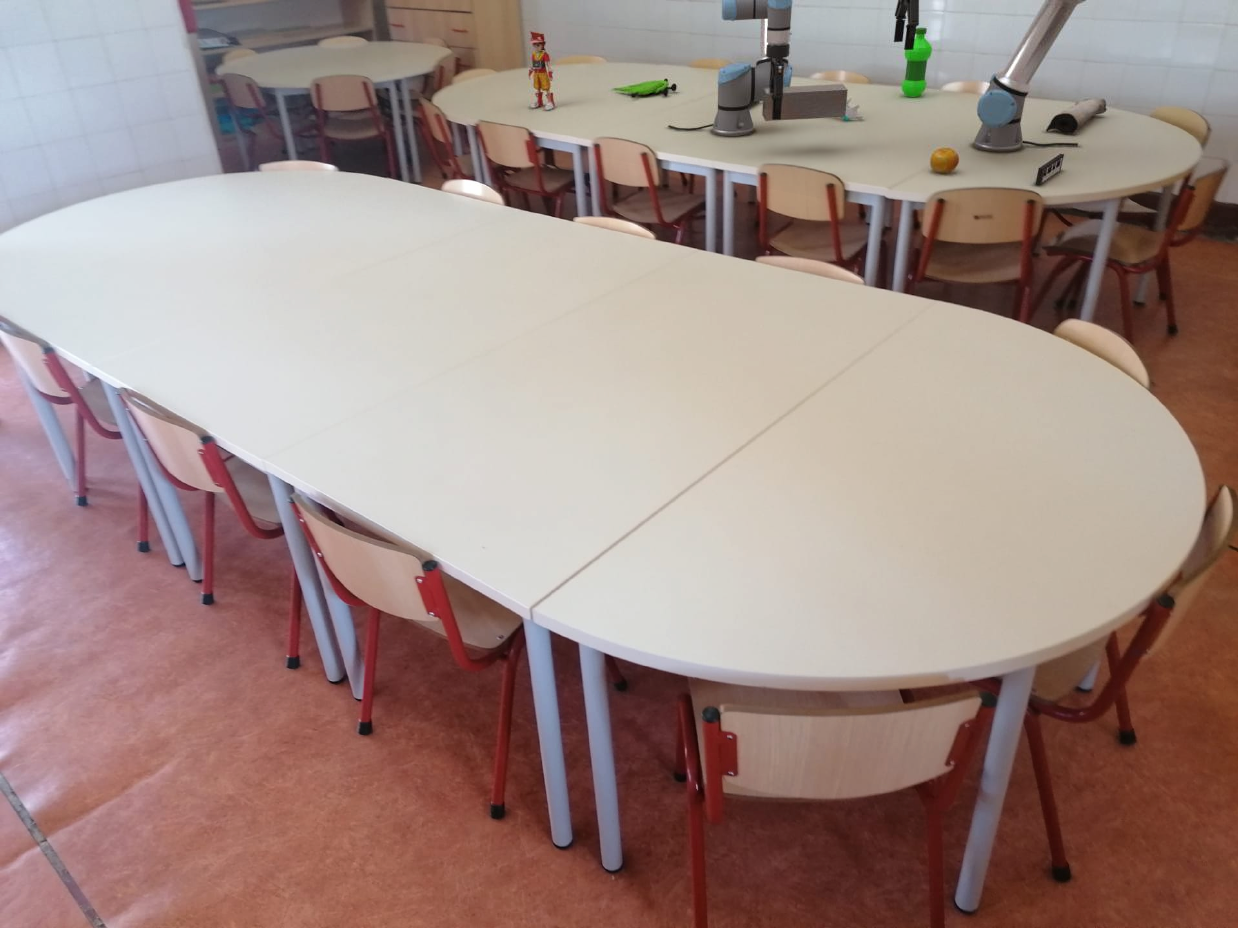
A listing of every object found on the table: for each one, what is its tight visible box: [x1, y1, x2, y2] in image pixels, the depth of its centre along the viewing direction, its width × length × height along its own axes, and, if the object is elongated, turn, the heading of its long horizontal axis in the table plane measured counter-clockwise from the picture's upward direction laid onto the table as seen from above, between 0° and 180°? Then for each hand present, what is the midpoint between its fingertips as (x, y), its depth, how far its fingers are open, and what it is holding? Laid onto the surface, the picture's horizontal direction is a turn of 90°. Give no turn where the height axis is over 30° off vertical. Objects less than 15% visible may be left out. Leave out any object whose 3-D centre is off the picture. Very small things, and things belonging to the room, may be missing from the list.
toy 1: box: [527, 31, 556, 111], centre depth 374 cm, size 12×9×30 cm
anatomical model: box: [842, 98, 864, 121], centre depth 343 cm, size 15×10×10 cm
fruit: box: [929, 147, 960, 174], centre depth 283 cm, size 8×8×8 cm
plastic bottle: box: [901, 27, 933, 98], centre depth 359 cm, size 10×10×25 cm
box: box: [761, 83, 849, 122], centre depth 302 cm, size 27×8×9 cm, turn 89°
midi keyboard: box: [1035, 153, 1065, 186], centre depth 273 cm, size 18×1×5 cm, turn 138°
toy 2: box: [612, 78, 677, 99], centre depth 396 cm, size 28×5×30 cm
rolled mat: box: [1045, 97, 1108, 135], centre depth 319 cm, size 30×9×10 cm
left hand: (774, 116), depth 305 cm, fingers closed on box, 8 cm apart
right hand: (903, 46), depth 290 cm, fingers open, 13 cm apart
